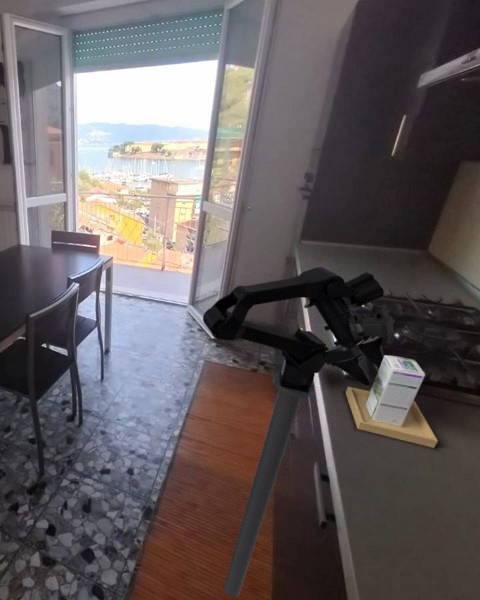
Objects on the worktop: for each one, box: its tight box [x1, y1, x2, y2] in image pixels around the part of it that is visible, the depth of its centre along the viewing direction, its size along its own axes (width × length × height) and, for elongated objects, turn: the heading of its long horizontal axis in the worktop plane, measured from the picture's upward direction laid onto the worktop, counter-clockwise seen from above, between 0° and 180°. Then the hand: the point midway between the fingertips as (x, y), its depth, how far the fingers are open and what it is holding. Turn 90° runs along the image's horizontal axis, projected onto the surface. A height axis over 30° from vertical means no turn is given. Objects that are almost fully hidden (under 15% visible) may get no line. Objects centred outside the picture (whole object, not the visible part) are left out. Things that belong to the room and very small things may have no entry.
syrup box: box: [365, 354, 426, 427], centre depth 79 cm, size 6×6×14 cm
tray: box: [345, 386, 439, 449], centre depth 81 cm, size 13×13×2 cm
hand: (377, 377), depth 81 cm, fingers open, 9 cm apart
